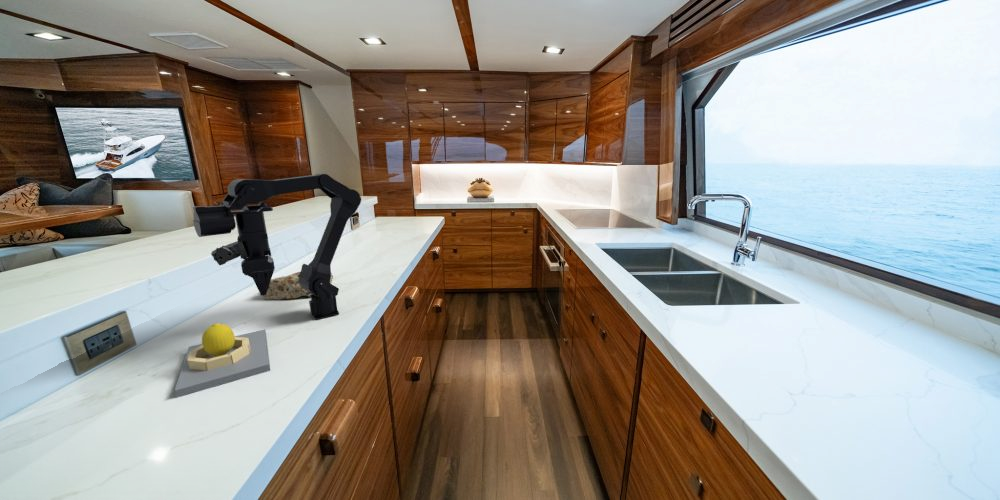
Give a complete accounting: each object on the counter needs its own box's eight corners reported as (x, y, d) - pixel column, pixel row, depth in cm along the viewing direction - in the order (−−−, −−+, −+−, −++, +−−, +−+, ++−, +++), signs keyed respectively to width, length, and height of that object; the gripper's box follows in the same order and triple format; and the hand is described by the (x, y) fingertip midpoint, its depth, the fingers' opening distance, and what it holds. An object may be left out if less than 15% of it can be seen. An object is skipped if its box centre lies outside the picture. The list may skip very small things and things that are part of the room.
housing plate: (266, 334, 88) (264, 322, 88) (270, 370, 73) (267, 355, 72) (190, 352, 80) (187, 339, 79) (176, 397, 64) (172, 381, 63)
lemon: (219, 364, 72) (212, 330, 70) (199, 361, 73) (191, 327, 71) (243, 351, 77) (237, 319, 76) (224, 348, 79) (218, 317, 77)
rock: (258, 306, 109) (253, 275, 109) (281, 299, 124) (277, 272, 123) (324, 296, 112) (320, 266, 111) (339, 290, 126) (335, 264, 126)
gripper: (213, 228, 86) (225, 286, 90) (206, 241, 71) (220, 309, 75) (265, 224, 92) (274, 278, 96) (269, 235, 78) (279, 298, 81)
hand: (262, 289), depth 87 cm, fingers open, 9 cm apart
